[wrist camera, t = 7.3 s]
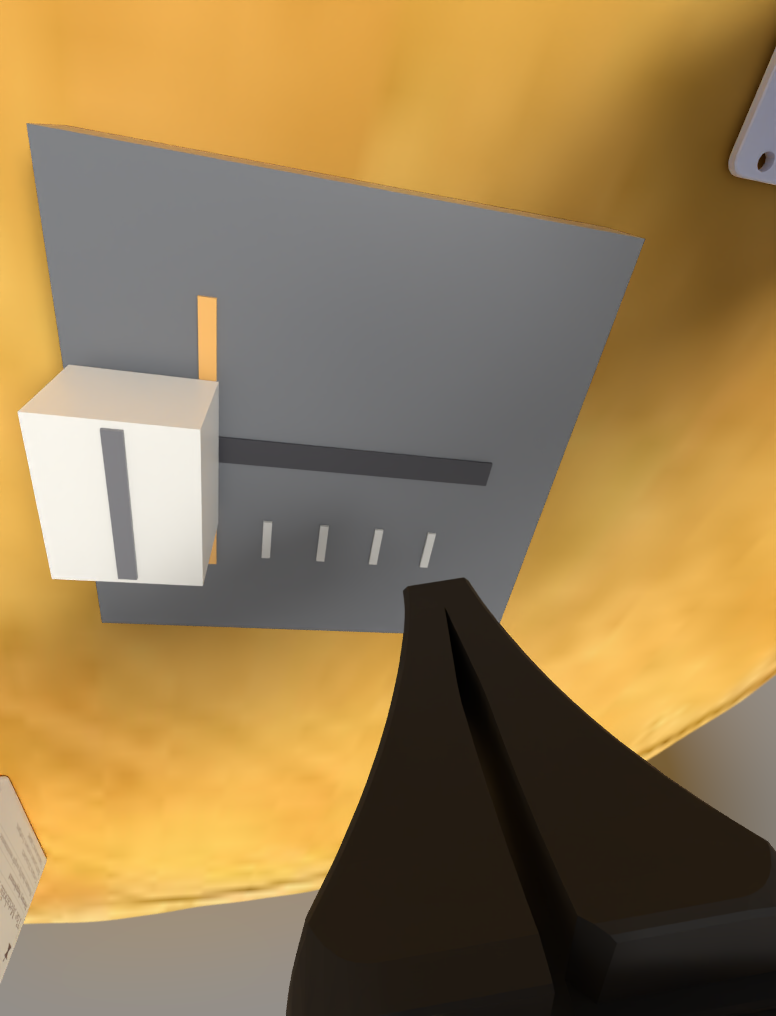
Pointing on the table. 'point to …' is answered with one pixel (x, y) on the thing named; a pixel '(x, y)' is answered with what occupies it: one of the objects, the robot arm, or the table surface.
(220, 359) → the slide fader panel
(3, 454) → the table surface
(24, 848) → the supplement box
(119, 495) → the fader knob
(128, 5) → the table surface
